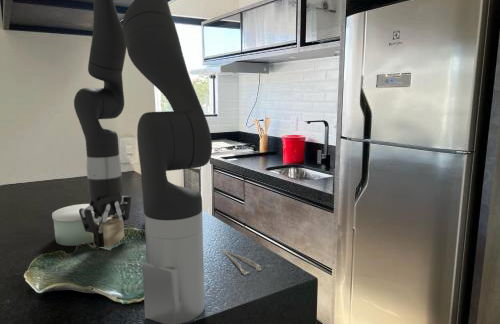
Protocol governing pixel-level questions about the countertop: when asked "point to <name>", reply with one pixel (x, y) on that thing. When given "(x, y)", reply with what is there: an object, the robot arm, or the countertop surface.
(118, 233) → the beech block
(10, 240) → the countertop surface
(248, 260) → the tweezers
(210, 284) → the countertop surface
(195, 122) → the robot arm
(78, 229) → the round lidded container
